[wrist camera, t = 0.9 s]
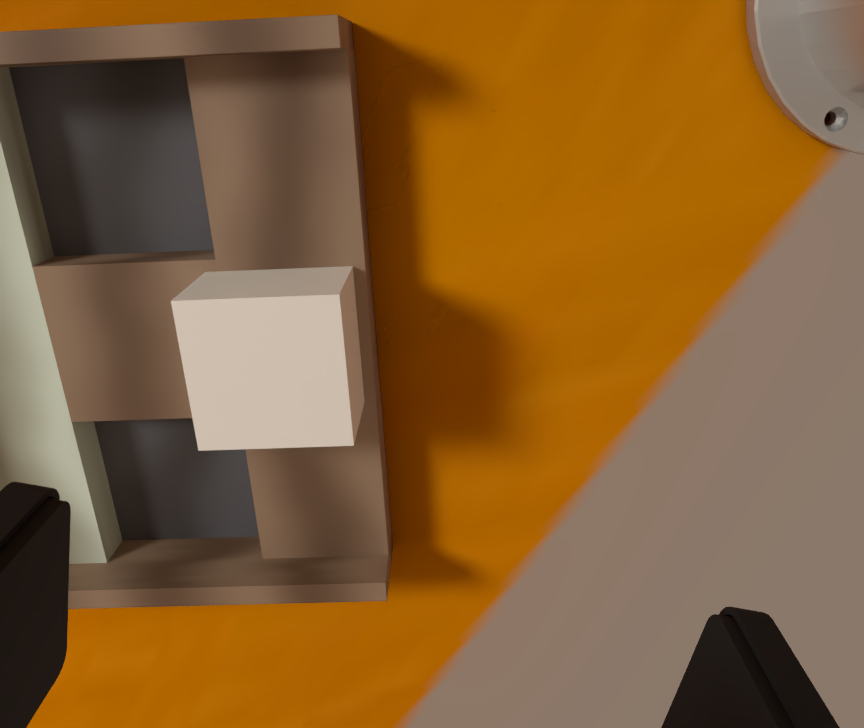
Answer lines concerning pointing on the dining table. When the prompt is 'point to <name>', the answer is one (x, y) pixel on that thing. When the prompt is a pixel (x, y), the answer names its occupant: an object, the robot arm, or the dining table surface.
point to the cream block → (271, 358)
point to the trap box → (160, 283)
